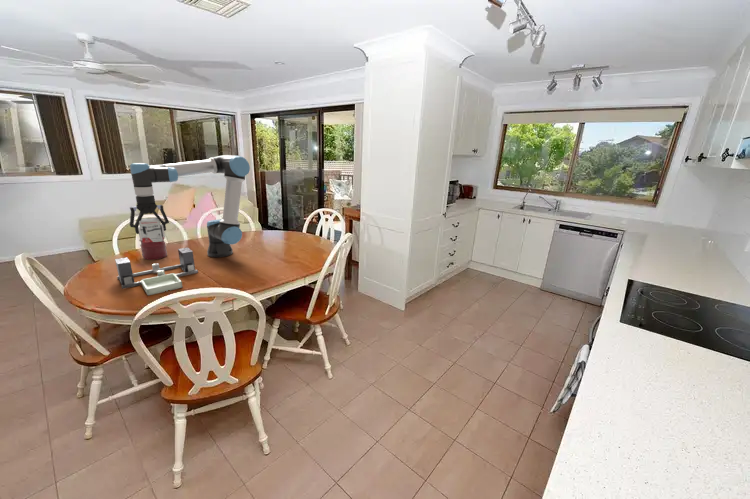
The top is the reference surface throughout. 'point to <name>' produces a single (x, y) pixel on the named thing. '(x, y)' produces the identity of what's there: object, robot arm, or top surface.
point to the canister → (153, 250)
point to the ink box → (150, 230)
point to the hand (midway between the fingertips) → (152, 238)
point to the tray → (161, 283)
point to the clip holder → (154, 268)
